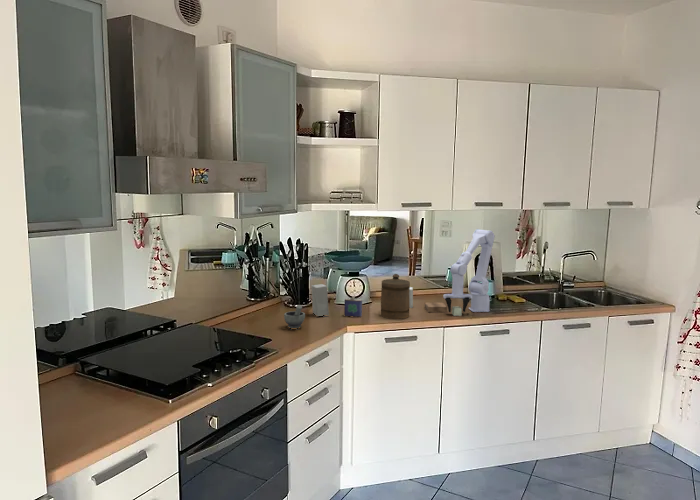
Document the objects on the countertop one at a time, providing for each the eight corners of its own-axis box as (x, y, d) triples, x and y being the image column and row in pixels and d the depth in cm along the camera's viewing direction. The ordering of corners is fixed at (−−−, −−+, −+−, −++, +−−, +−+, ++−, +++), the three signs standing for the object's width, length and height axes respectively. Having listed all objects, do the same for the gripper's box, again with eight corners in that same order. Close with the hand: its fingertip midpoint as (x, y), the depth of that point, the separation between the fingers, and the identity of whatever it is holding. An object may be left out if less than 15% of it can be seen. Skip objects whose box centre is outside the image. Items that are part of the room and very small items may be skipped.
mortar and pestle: (281, 326, 258) (281, 302, 256) (299, 324, 263) (299, 300, 261) (291, 332, 248) (291, 307, 247) (309, 329, 253) (309, 304, 252)
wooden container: (398, 311, 291) (399, 270, 288) (414, 317, 278) (416, 275, 275) (375, 314, 284) (376, 272, 281) (390, 320, 271) (391, 277, 268)
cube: (459, 313, 286) (459, 306, 286) (461, 315, 282) (461, 308, 282) (451, 313, 286) (452, 306, 286) (453, 315, 282) (454, 308, 282)
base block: (442, 307, 299) (442, 302, 298) (446, 312, 289) (447, 306, 289) (424, 307, 298) (424, 302, 298) (428, 312, 288) (428, 306, 288)
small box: (412, 305, 304) (413, 287, 302) (412, 307, 298) (413, 289, 297) (398, 305, 305) (398, 286, 303) (398, 307, 299) (398, 288, 298)
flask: (362, 316, 279) (362, 296, 277) (361, 317, 276) (361, 297, 275) (344, 315, 281) (345, 295, 279) (343, 316, 278) (343, 296, 276)
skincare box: (328, 316, 277) (329, 286, 275) (315, 317, 275) (315, 287, 273) (324, 312, 285) (324, 283, 283) (311, 313, 283) (311, 284, 281)
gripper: (445, 287, 278) (445, 313, 280) (473, 287, 279) (472, 313, 281) (442, 285, 285) (441, 310, 287) (469, 285, 286) (468, 310, 288)
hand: (456, 311), depth 284 cm, fingers open, 7 cm apart
